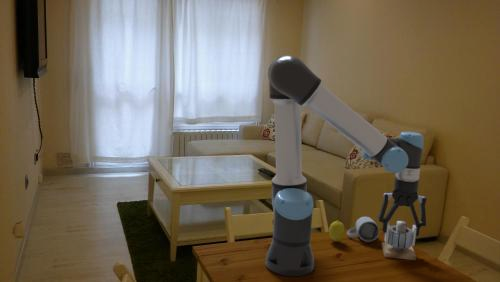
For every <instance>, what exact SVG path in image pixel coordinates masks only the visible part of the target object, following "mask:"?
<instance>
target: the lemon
mask: <svg viewBox="0 0 500 282" xmlns="http://www.w3.org/2000/svg"><path fill="white" fill-rule="evenodd" d="M345 233H346V231H345V225H344V223H342V222H341V221H339V220H336V221H333V222H332V223H331V224H330V225H329V230H328V234H329V237H330V239H331V240H333V241H334V242H335V243H337V242H338V241H341V240H342V239H344V237H345Z"/></svg>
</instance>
